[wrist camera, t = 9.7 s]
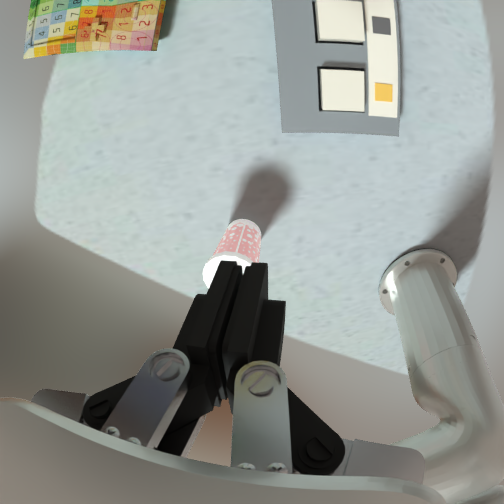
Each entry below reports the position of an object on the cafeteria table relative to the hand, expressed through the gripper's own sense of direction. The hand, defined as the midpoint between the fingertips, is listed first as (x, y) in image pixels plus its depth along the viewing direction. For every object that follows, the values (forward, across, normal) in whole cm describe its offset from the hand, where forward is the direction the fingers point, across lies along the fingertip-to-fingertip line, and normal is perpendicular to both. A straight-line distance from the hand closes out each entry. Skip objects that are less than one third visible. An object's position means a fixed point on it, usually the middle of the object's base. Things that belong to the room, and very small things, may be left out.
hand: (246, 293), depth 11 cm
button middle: (+23, -5, -13) cm, 27 cm away
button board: (+25, -5, -13) cm, 29 cm away
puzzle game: (+25, +21, -19) cm, 38 cm away
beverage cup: (+26, +5, +12) cm, 29 cm away
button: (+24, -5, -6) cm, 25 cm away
